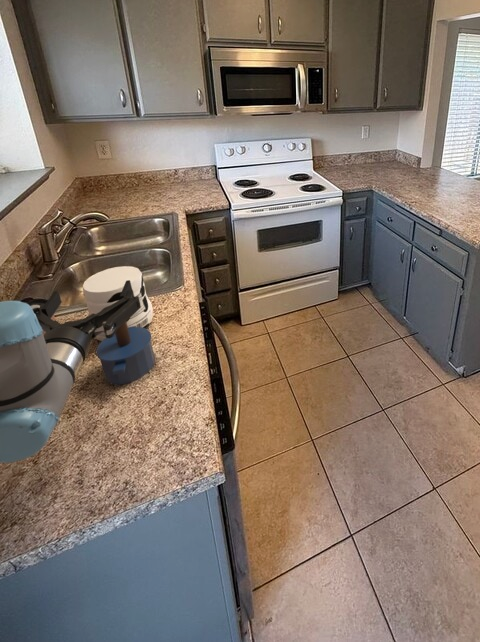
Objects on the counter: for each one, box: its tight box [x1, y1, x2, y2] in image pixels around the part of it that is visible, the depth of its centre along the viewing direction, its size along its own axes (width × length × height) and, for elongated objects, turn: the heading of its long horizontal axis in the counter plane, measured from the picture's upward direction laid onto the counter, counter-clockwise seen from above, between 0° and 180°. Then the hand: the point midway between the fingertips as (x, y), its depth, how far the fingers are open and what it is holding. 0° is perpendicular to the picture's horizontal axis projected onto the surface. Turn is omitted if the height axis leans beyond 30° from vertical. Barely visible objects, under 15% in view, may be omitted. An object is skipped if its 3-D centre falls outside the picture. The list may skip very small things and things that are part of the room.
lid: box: [95, 322, 152, 362], centre depth 92 cm, size 13×13×9 cm
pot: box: [99, 326, 156, 386], centre depth 94 cm, size 12×17×8 cm
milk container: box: [82, 265, 154, 343], centre depth 108 cm, size 17×17×18 cm
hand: (94, 291), depth 77 cm, fingers open, 13 cm apart
